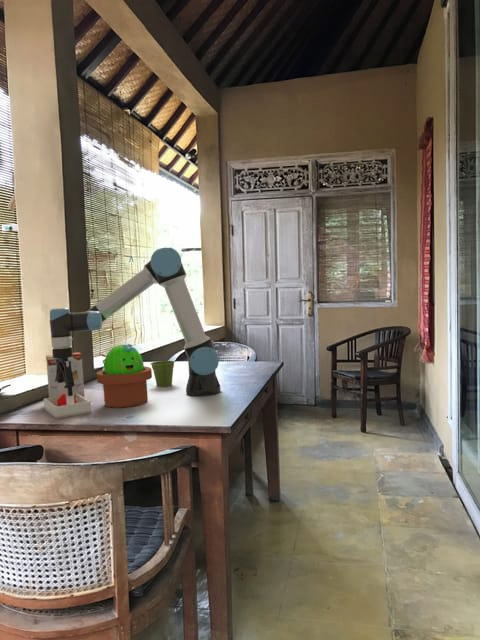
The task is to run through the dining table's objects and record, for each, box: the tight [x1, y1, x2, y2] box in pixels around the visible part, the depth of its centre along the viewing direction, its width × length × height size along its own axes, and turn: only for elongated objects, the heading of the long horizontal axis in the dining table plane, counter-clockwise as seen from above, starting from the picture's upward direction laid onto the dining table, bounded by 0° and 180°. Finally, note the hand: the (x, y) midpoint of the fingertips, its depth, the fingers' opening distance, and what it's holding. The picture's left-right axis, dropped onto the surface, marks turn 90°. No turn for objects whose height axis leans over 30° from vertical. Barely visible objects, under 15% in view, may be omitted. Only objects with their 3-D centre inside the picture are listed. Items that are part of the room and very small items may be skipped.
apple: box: [57, 394, 77, 406], centre depth 199 cm, size 7×7×8 cm
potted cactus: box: [96, 343, 153, 409], centre depth 207 cm, size 22×22×25 cm
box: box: [43, 393, 92, 420], centre depth 199 cm, size 20×13×4 cm, turn 32°
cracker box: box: [45, 352, 85, 398], centre depth 215 cm, size 14×6×21 cm, turn 118°
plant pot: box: [149, 360, 176, 388], centre depth 242 cm, size 12×12×11 cm
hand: (66, 401), depth 199 cm, fingers open, 12 cm apart
